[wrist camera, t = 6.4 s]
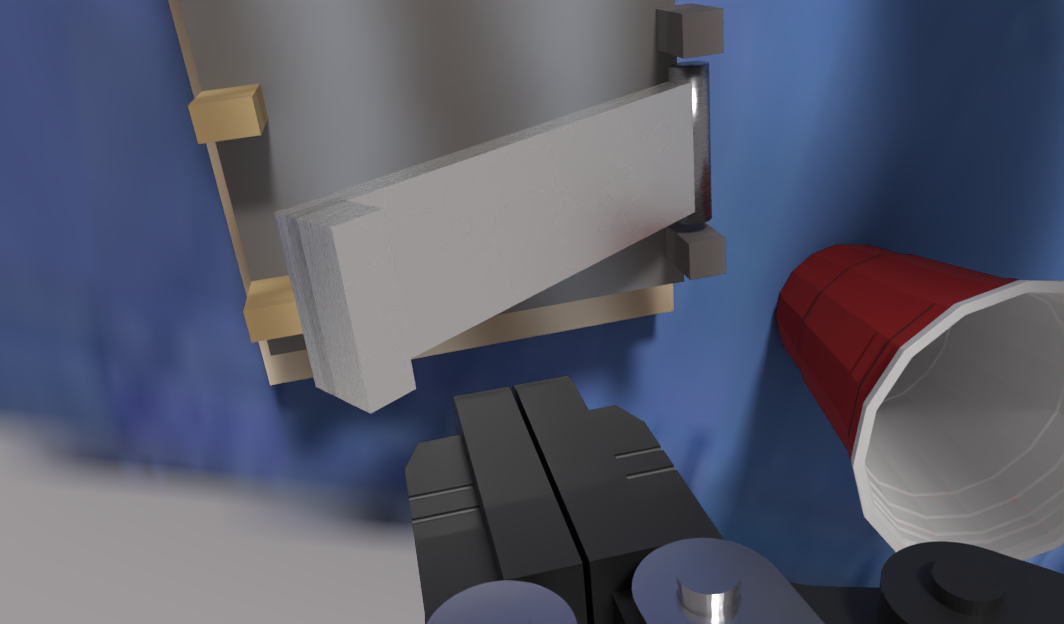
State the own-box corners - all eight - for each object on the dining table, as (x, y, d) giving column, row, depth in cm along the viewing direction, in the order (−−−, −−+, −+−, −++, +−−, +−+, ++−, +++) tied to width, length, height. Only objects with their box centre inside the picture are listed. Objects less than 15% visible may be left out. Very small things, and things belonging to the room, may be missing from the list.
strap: (683, 60, 26) (746, 62, 25) (687, 209, 28) (746, 219, 27) (264, 191, 17) (326, 206, 15) (314, 399, 19) (374, 430, 17)
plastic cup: (765, 159, 35) (956, 255, 24) (977, 210, 38) (1232, 315, 27) (683, 392, 38) (817, 567, 28) (883, 422, 41) (1074, 589, 31)
